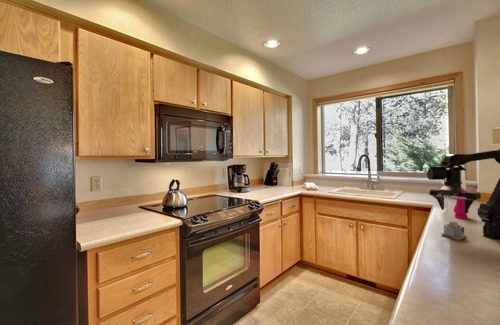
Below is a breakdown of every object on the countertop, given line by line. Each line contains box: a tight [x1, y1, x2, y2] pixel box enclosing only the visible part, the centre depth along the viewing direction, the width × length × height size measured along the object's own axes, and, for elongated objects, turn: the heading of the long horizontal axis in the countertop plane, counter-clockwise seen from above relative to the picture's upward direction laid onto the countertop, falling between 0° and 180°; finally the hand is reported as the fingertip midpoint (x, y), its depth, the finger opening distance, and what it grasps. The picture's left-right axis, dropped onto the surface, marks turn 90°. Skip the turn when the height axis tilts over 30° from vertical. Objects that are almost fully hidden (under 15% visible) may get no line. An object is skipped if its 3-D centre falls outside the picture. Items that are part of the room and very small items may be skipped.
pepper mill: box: [453, 185, 470, 220], centre depth 154 cm, size 7×7×20 cm
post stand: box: [441, 220, 467, 241], centre depth 117 cm, size 7×7×7 cm
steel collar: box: [443, 223, 465, 237], centre depth 117 cm, size 7×7×4 cm
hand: (453, 211), depth 119 cm, fingers open, 9 cm apart
